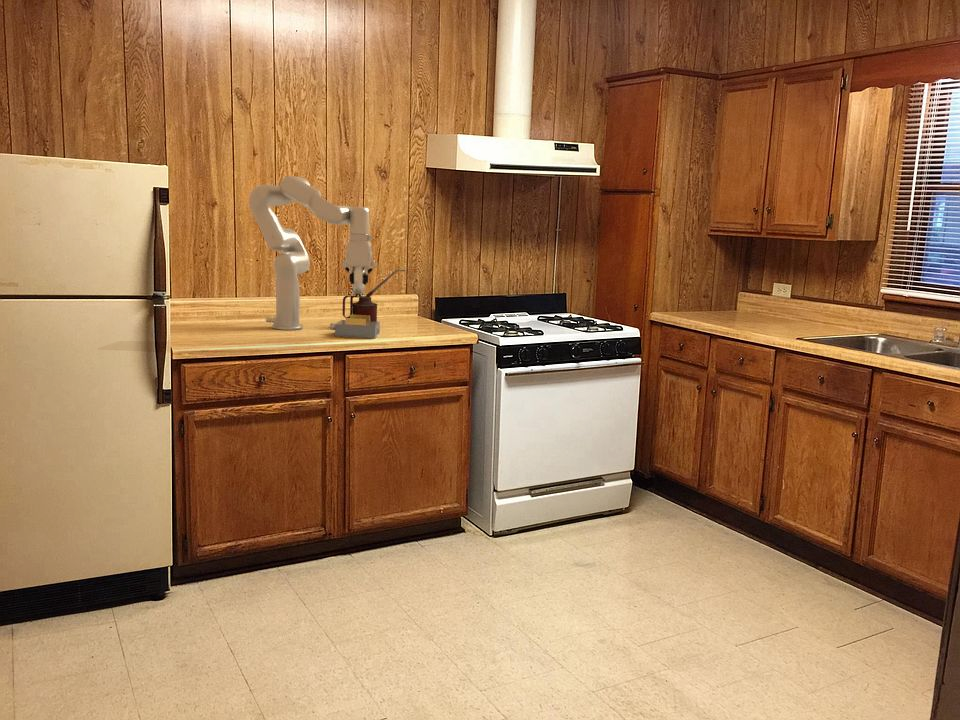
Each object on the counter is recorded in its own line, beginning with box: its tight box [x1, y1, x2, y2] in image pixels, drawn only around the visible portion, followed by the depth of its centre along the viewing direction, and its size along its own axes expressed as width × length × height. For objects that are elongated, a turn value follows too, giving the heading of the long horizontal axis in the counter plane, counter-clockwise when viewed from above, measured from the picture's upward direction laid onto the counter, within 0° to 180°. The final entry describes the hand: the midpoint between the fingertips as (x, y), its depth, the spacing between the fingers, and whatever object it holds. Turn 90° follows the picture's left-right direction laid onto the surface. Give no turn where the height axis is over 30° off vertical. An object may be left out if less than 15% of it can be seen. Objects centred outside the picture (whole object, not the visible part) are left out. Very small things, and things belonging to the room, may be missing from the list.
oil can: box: [342, 269, 406, 322], centre depth 364 cm, size 28×11×25 cm, turn 117°
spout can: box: [352, 266, 366, 295], centre depth 337 cm, size 5×5×12 cm
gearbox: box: [329, 314, 381, 339], centre depth 340 cm, size 19×13×8 cm
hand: (358, 283), depth 337 cm, fingers closed on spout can, 4 cm apart
